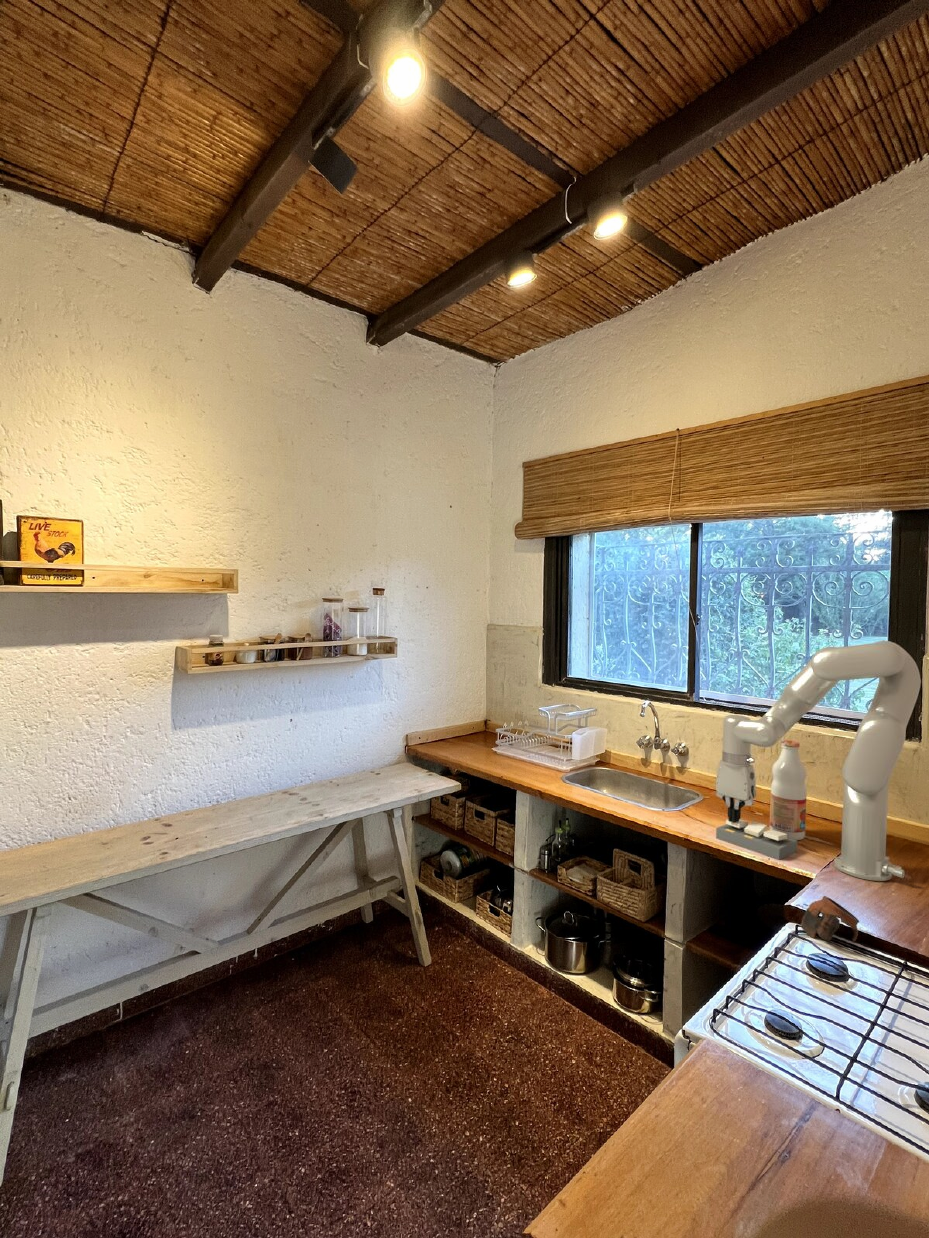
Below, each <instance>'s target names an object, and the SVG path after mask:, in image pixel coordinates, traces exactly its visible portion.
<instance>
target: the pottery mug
mask: <svg viewBox="0 0 929 1238" xmlns="http://www.w3.org/2000/svg"><path fill="white" fill-rule="evenodd" d="M820 915H821V917H820ZM840 922H841V923H843V924H845V925H846V926H848V927H850V929H851V930H852V932H853V934H854V935H853V937H852V942H853V943H855V942H856V940H857V939H858V938H857V937H858V935H859V934H858V933H859V930H858V923H860V920H859V919H858V918H857V917H856V916H855V915H854V914H853V913H851V912H850V911H849V910H847V909H846V908H845V907H844V906H843V905H841V904H839V903H838V902H836V901H835V900H834V899H832V898H829V897H827V896H826V895H823V896H822V899H819V900H814V901H812V902H811V903H810V904H809V905H808V907H807V909H806V911H805V912H804V915H803V917H802V920H801V923H800V927H801V928H802V930H803V931H804V932H805V934H807V935H808V936H809V937H810V938H812V939H815V938H816V935H817V934H818V936H819V937H820V938H821V939H822V940H824V941H831V940H832V938H834V935H835V933H836V932H837V930H838V929H839V928H840V924H841V923H840Z"/></svg>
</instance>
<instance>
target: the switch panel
mask: <svg viewBox="0 0 929 1238" xmlns="http://www.w3.org/2000/svg"><path fill="white" fill-rule="evenodd" d="M746 827H747V826H746ZM746 827H744V828H746ZM744 828H737V827H734V826H731V825H728V824H726V823H725V824H723V825H721V826H718V827H716V828H715V838H716V839H718V840H721V841H723V842H727V843H730V844H732V845H734V846H736V847H737V846H738V847H739V848H744V849H746V850H749V851H752V852H754V853H757V854H761V855H762V856H766V857H769V858H771V859H775V860H777V861H780V860H782V859H784V858H786V857H788V856H790V855H793V854H794V853H797V852H798V840H794V839H790V838H787V839H783V840H779V841H777V840H774V839H771V838H768V837H765V836H764V832H765V831H764V832H763V834H761V835H760V836H759V837H757V836H754V835H751V834H748V833H745V831H744Z"/></svg>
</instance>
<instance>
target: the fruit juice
mask: <svg viewBox="0 0 929 1238" xmlns="http://www.w3.org/2000/svg"><path fill="white" fill-rule="evenodd" d="M780 747H781V751H780V755H779V757H778V759H777V760H776V761H775V762H774V763H773V765H772V767H771V768H772V769H771V773H772V776H773V777H772V778H773V780H772V782H771V786H770V800H769V801H770V805H769V806H770V807H769V830H776V831H779V832H782V833H785V834H787V838H790V839H794V840H797V841H799V840H803V839H805V837H806V818H807V816H806V815H807V796H808V795H807V794H808V793H807V787H806V784H805V783H806V779H807V775H808V774H807V768H806V767H805V765H804V764H803V763H802V761H801V759H800V756H799V749H800V742H798V741H795V740H787V739H785V740H781V741H780Z"/></svg>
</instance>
